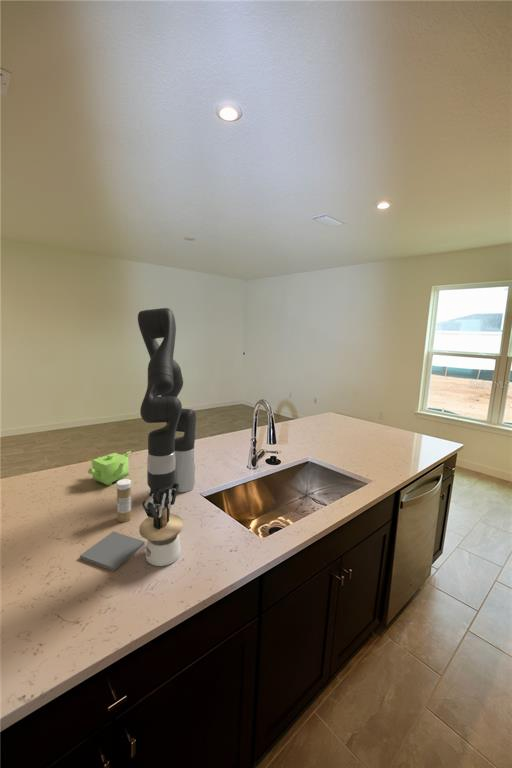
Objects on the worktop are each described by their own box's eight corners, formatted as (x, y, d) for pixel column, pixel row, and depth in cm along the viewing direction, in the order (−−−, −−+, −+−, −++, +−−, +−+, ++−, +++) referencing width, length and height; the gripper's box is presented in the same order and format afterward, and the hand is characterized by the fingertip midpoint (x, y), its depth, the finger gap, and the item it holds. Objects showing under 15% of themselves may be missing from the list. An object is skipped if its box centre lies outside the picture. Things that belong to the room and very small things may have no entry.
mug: (186, 558, 90) (186, 539, 89) (153, 573, 84) (153, 552, 83) (169, 536, 100) (169, 519, 99) (138, 548, 93) (137, 529, 93)
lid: (157, 512, 98) (157, 494, 97) (191, 521, 94) (191, 503, 93) (129, 533, 87) (129, 514, 86) (166, 545, 83) (166, 525, 82)
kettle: (131, 471, 144) (131, 448, 142) (128, 486, 130) (128, 460, 129) (95, 474, 140) (94, 449, 138) (88, 489, 126) (87, 462, 124)
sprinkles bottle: (119, 515, 110) (118, 478, 108) (133, 514, 110) (132, 478, 108) (115, 522, 105) (114, 484, 103) (129, 522, 106) (128, 484, 104)
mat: (113, 534, 99) (113, 531, 99) (144, 544, 95) (144, 541, 95) (80, 558, 88) (79, 555, 88) (113, 571, 84) (113, 568, 84)
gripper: (165, 456, 96) (165, 509, 98) (132, 474, 83) (133, 535, 85) (187, 460, 93) (186, 515, 96) (156, 480, 80) (156, 542, 83)
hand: (161, 524), depth 91 cm, fingers closed on lid, 2 cm apart
